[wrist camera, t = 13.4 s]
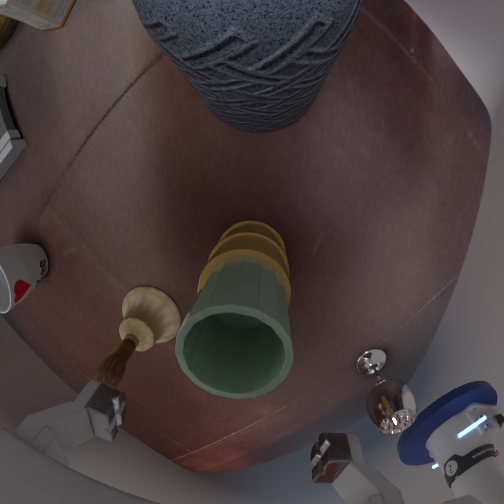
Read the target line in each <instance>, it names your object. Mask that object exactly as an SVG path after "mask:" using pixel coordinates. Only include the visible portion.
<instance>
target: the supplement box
mask: <svg viewBox="0 0 504 504" xmlns="http://www.w3.org/2000/svg"><path fill="white" fill-rule="evenodd" d="M74 2H75V0H0V14H3V15H5V16H8V17H11V18H14V19H16V20H19V21H21V22H24V23H26V24H29V25H31V26H34V27H36V28H38V29H41V30H43V31H44V30H49V29H55V28H62V27H63V25H64V23H65V20H66V18H67V16H68V14H69V12H70V10H71V8H72V6H73V4H74Z"/></svg>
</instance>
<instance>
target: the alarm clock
mask: <svg viewBox="0 0 504 504" xmlns="http://www.w3.org/2000/svg"><path fill="white" fill-rule="evenodd" d="M5 87H6V77H4V76H1V75H0V181H1V179H2V178H3V177H4V175H5V174H6V172H7V171H8V170H9V168H10V167H11V166H12V164H13V163H14V162H15V160H16V159H17V158H18V156H19V155H20V154H21V153H22V151H23V150H24V149H25V148H26V146H27V143H26V141H25V139H21V140H20V134H19V132H18V130H16V129H15V126H14V124H13V121H12V119H11V116H10V113H9V110H8V106H7V102H6V97H5V90H4V88H5Z"/></svg>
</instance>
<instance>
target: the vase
mask: <svg viewBox="0 0 504 504" xmlns="http://www.w3.org/2000/svg"><path fill="white" fill-rule="evenodd" d="M132 1H133V4H134V6H135V9H136V11H137V14H138V16H139V19H140V20H141V22H142V24H143V26H144V27H145V29H146V30H147V32H148V34H149V35H150V37H151V38H152V39H153V41H154V42H155V43H156V44H157V45H158V47H159V48H160V49H161V50H162V51H163V52H164V53H165V55H166V56H167V57H168V58H169V59H170V61H171V62H172V63H173V64H174V65H175V66H176V68H177V69H178V70H179V71H180V72H181V74H182V75H183V76H184V77H185V78H186V80H187V81H188V82H189V83H190V85H191V86H192V87H193V88H194V89H195V91H196V92H197V93H198V94H199V96H200V97H201V98H202V99H203V101H204V102H205V103H206V104H207V106H208V107H209V108H210V109H211V110H212V112H213V113H214V114H215V115H217V116H218V117H219V118H220V119H221V120H223V121H224V122H226V123H227V124H229V125H231V126H233V127H235V128H238V129H241V130H245V131H250V132H269V131H274V130H278V129H281V128H284V127H286V126H288V125H290V124H292V123H294V122H295V121H297V120H298V119H299V118H301V117H302V116H303V115H304V114H305V113H306V111H307V110H308V109H309V108H310V106H311V105H312V103H313V102H314V100H315V98H316V96H317V94H318V92H319V90H320V88H321V87H322V85H323V83H324V81H325V79H326V77H327V75H328V73H329V71H330V70H331V68H332V66H333V64H334V62H335V60H336V58H337V56H338V55H339V53H340V51H341V49H342V47H343V45H344V43H345V42H346V40H347V38H348V36H349V34H350V32H351V30H352V29H353V27H354V25H355V23H356V21H357V18H358V15H359V12H360V9H361V6H362V2H363V0H132Z"/></svg>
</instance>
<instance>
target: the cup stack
mask: <svg viewBox="0 0 504 504" xmlns="http://www.w3.org/2000/svg"><path fill="white" fill-rule="evenodd" d="M238 256H249V257H254V258H258V259H260V260H263V261H265V262H266V263H268V264H269V265H271V266H272V267H273V268H274V269H275V270H276V271H277V272H278V273H279V275H280V276H281V278H282V280H283V283H284V285H285V291H286V297H287V304H288V306H289V303H290V298H291V288H290V282H289V264H288V260H287V257H286V250H285V245H284V242H283V239H282V238H281V236H280V234H279V233H278V232H277V231H276V230H275V229H274V228H273V227H272V226H270V225H269V224H267V223H265V222H262V221H258V220H244V221H240V222H237V223H235V224H233V225H232V226H230V227H229V228H228V229H227V230H226V231H225V232H224V233H223V235H222V236H221V238H220V240H219V243H218V244H217V245H216V246H215V247H214V249H213V250H212V252H211V254H210V256H209V259H208V263H207V265H206V266H205V268H204V270H203V272H202V273H201V276H200V278H199V283H198V292H199V291H200V289H201V287H202V285H203V283H204V281H205V280H206V278H207V277H208V275H209V273H210V272H211V271H212V269H213V268H214V267H215V266H216V265H218V264H219V263H221V262H222V261H224V260H226V259H229V258H233V257H238Z"/></svg>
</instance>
